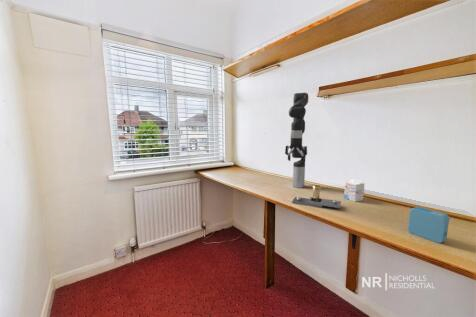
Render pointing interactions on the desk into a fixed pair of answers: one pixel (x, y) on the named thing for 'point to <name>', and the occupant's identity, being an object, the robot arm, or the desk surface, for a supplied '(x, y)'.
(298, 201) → the chain ends
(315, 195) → the link pin
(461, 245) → the desk surface
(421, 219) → the data package
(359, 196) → the ink box
